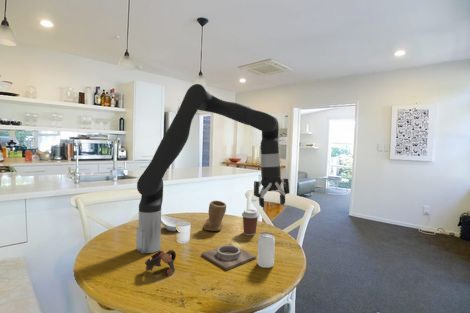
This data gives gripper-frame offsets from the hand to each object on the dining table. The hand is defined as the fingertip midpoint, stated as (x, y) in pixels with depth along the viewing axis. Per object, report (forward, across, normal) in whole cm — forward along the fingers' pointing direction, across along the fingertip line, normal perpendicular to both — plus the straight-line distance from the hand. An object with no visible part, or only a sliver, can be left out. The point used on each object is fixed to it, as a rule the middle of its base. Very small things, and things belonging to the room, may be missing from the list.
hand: (272, 205), depth 101 cm
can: (+23, +5, +1) cm, 23 cm away
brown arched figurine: (+20, +43, -2) cm, 48 cm away
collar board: (+21, +17, -8) cm, 28 cm away
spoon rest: (+18, +42, -49) cm, 68 cm away
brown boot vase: (+20, +16, -45) cm, 52 cm away
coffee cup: (+22, -1, -33) cm, 40 cm away
